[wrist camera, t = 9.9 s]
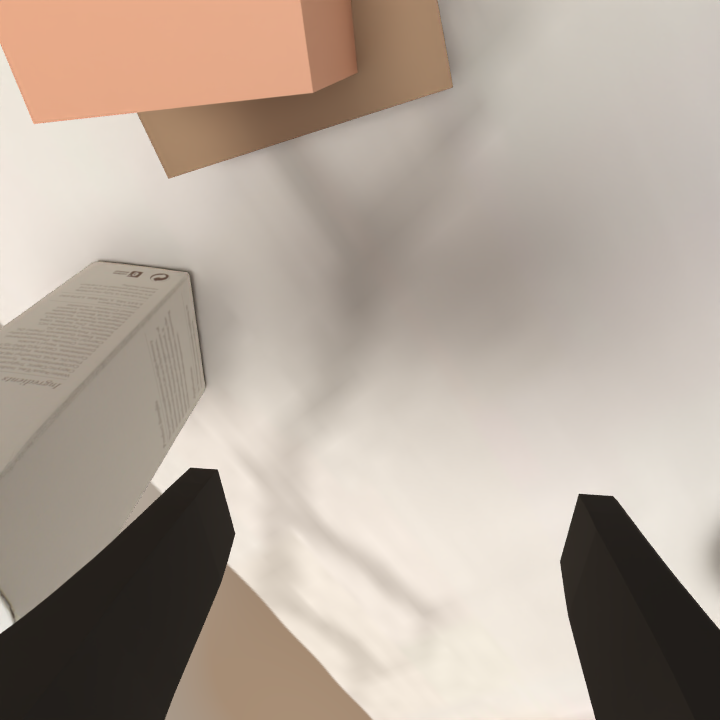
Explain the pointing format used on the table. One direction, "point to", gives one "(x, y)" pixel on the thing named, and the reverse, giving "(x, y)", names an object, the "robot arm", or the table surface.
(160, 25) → the terracotta cube
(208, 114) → the walnut block
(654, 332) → the table surface
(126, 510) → the skincare box
